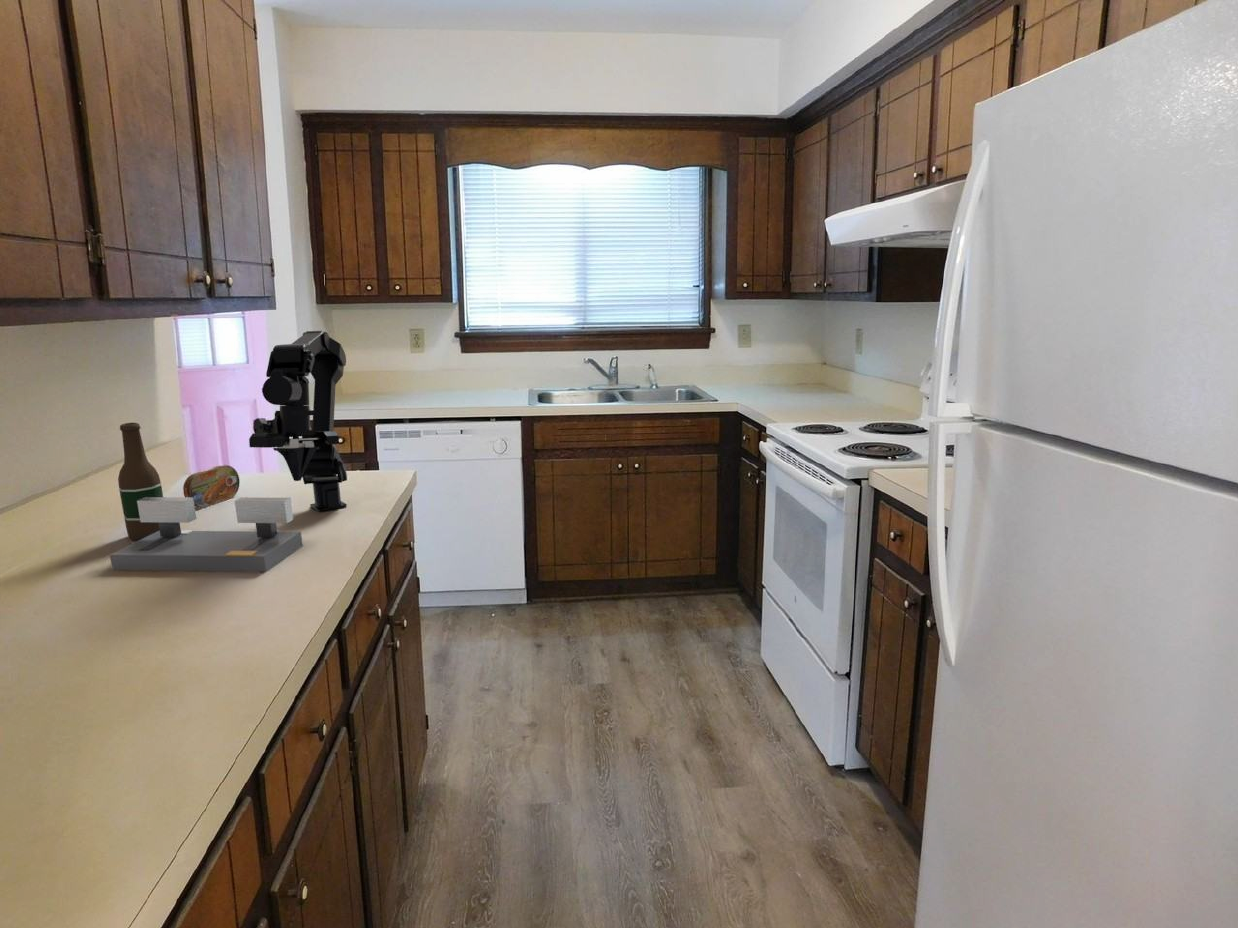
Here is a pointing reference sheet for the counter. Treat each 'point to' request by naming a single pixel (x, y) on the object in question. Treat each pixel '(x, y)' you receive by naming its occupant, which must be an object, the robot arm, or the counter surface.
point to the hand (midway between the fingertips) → (297, 480)
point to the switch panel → (207, 551)
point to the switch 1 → (167, 513)
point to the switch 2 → (264, 513)
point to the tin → (212, 485)
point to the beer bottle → (136, 482)
